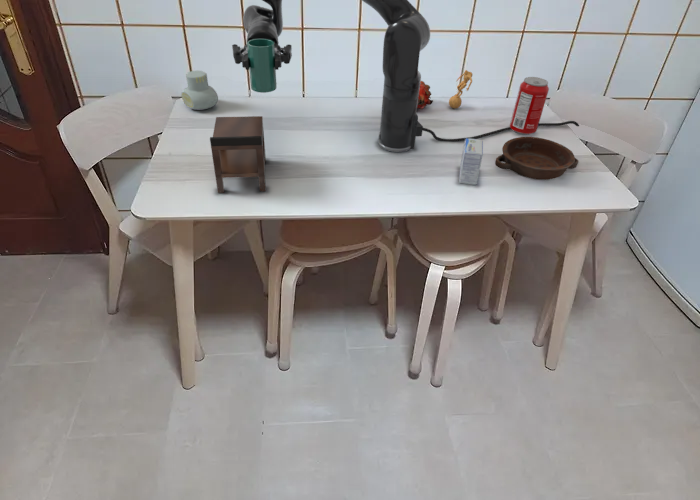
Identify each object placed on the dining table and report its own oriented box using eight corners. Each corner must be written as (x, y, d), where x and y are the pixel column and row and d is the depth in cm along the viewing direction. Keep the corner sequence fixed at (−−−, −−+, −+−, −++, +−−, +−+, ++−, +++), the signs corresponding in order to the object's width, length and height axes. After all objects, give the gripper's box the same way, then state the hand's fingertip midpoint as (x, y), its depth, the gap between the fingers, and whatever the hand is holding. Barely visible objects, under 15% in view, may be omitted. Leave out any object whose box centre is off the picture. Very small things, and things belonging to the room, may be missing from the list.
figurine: (443, 103, 163) (449, 65, 155) (460, 102, 164) (467, 65, 156) (453, 113, 156) (460, 75, 149) (471, 112, 158) (478, 74, 150)
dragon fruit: (415, 103, 166) (419, 123, 157) (396, 88, 161) (400, 109, 153) (433, 84, 161) (439, 104, 153) (414, 69, 157) (419, 89, 149)
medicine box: (476, 185, 123) (483, 154, 118) (458, 183, 124) (464, 151, 118) (476, 170, 129) (483, 139, 124) (459, 167, 130) (465, 137, 125)
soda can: (508, 134, 147) (522, 83, 137) (508, 123, 153) (521, 74, 143) (536, 138, 145) (551, 87, 136) (535, 126, 151) (549, 77, 142)
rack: (265, 160, 129) (261, 109, 120) (265, 191, 118) (261, 137, 109) (222, 161, 128) (215, 109, 119) (217, 193, 116) (209, 138, 108)
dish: (482, 153, 137) (486, 136, 134) (558, 151, 139) (564, 135, 136) (505, 187, 123) (510, 169, 120) (589, 184, 126) (596, 167, 123)
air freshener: (180, 103, 154) (174, 71, 148) (204, 97, 158) (199, 65, 152) (197, 115, 148) (192, 82, 142) (222, 108, 152) (218, 76, 146)
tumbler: (276, 82, 118) (274, 38, 111) (276, 92, 113) (274, 47, 107) (251, 83, 117) (247, 38, 111) (250, 92, 112) (246, 47, 106)
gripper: (230, 24, 119) (226, 47, 106) (291, 25, 121) (294, 47, 108) (234, 56, 124) (230, 82, 111) (292, 56, 125) (295, 82, 113)
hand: (261, 65), depth 109 cm, fingers closed on tumbler, 6 cm apart
